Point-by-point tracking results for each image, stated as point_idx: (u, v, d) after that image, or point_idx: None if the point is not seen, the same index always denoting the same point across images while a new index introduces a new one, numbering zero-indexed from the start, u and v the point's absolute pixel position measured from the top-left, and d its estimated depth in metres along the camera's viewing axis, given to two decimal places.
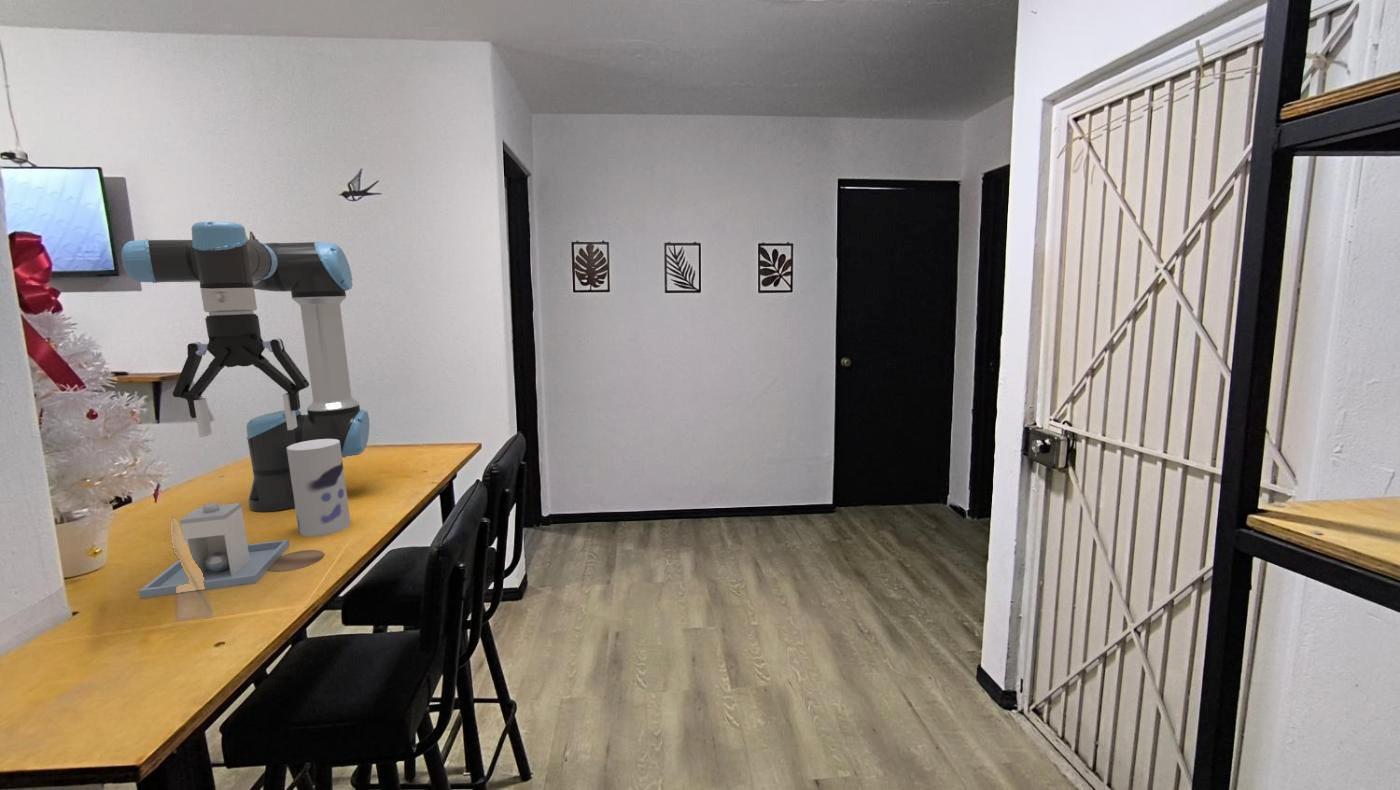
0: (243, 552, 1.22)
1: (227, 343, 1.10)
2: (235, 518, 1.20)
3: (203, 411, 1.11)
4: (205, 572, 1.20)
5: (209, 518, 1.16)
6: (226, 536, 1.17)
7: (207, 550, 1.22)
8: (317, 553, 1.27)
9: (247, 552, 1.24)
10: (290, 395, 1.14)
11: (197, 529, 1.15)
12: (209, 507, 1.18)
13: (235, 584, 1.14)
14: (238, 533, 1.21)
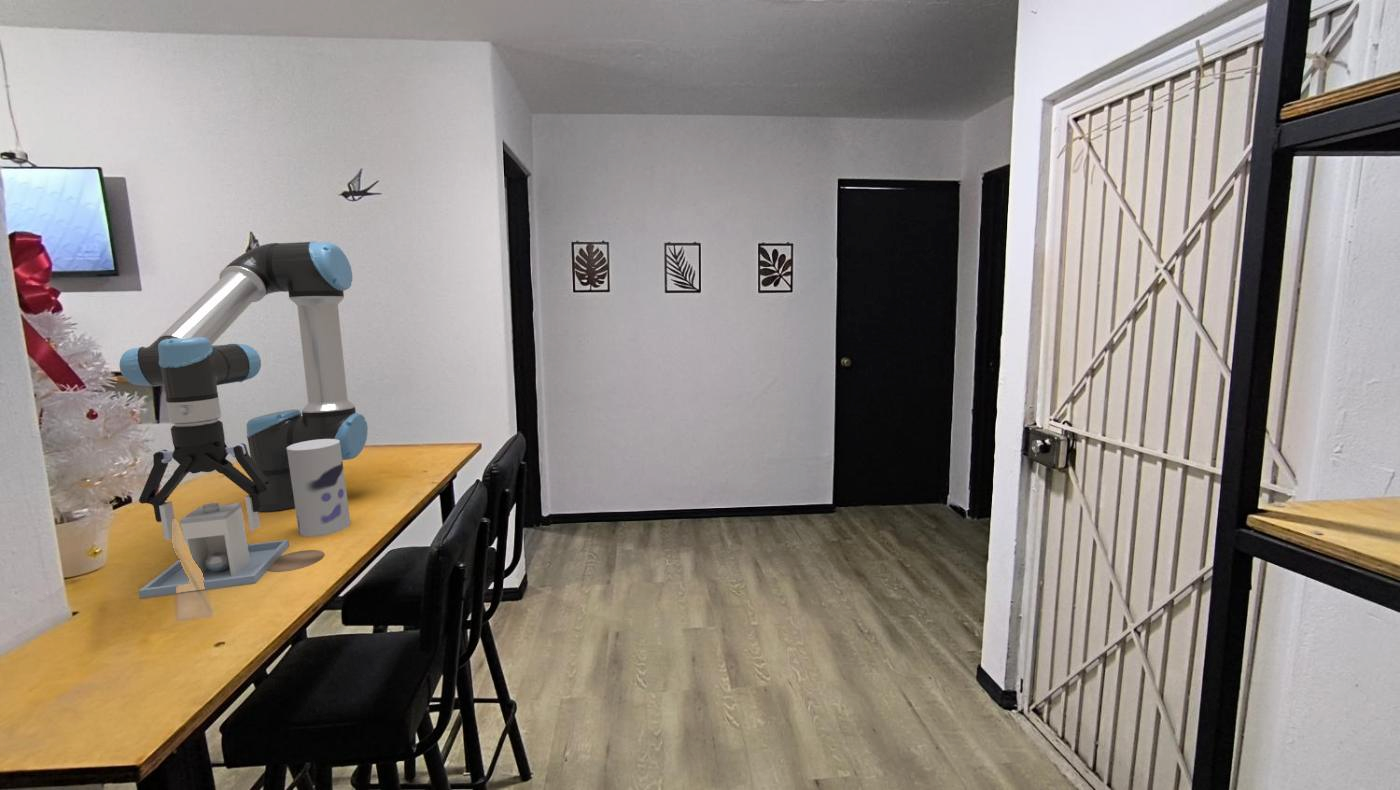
0: (243, 552, 1.22)
1: (192, 451, 1.15)
2: (235, 518, 1.20)
3: (168, 515, 1.16)
4: (205, 572, 1.20)
5: (209, 518, 1.16)
6: (226, 536, 1.17)
7: (207, 550, 1.22)
8: (317, 553, 1.27)
9: (247, 552, 1.24)
10: (252, 497, 1.19)
11: (197, 529, 1.15)
12: (209, 507, 1.18)
13: (235, 584, 1.14)
14: (238, 533, 1.21)
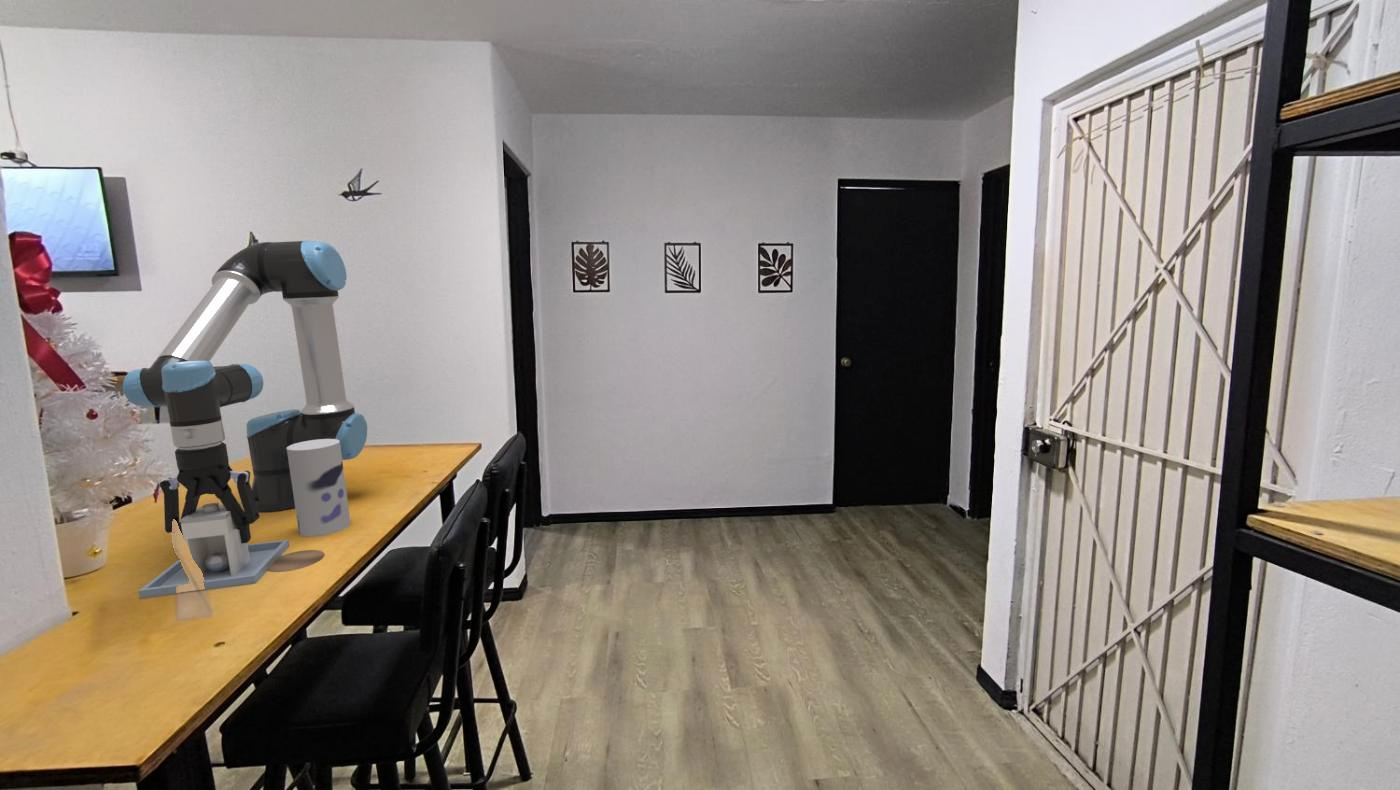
0: None
1: (193, 470, 1.16)
2: None
3: None
4: (205, 572, 1.20)
5: (209, 518, 1.16)
6: (226, 536, 1.17)
7: (207, 550, 1.22)
8: (317, 553, 1.27)
9: None
10: (240, 529, 1.20)
11: (197, 529, 1.15)
12: (209, 507, 1.18)
13: (235, 584, 1.14)
14: None
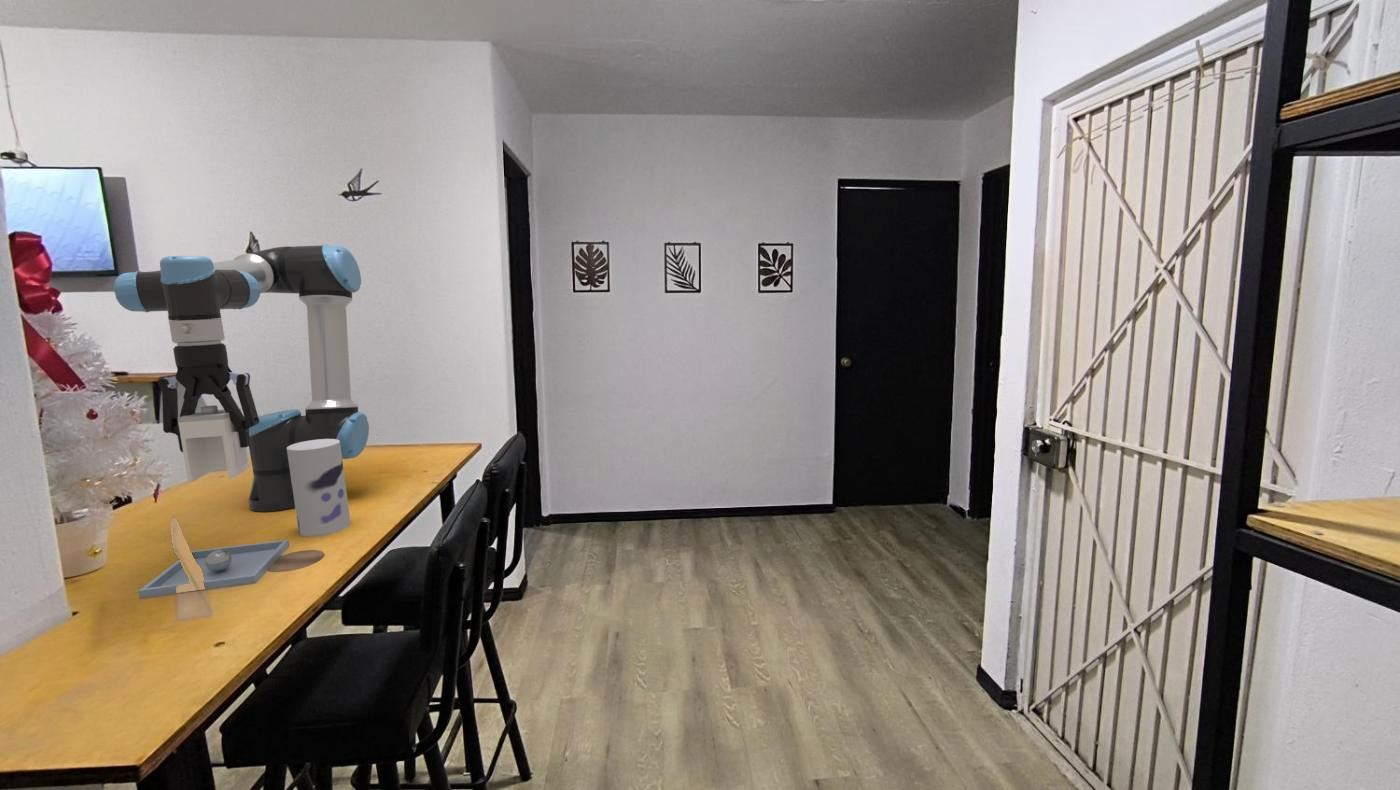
0: None
1: (192, 369, 1.13)
2: None
3: None
4: (205, 572, 1.20)
5: (207, 418, 1.13)
6: (224, 437, 1.14)
7: (206, 456, 1.19)
8: (317, 553, 1.27)
9: None
10: (240, 432, 1.17)
11: (194, 428, 1.13)
12: (207, 408, 1.15)
13: (235, 584, 1.14)
14: None
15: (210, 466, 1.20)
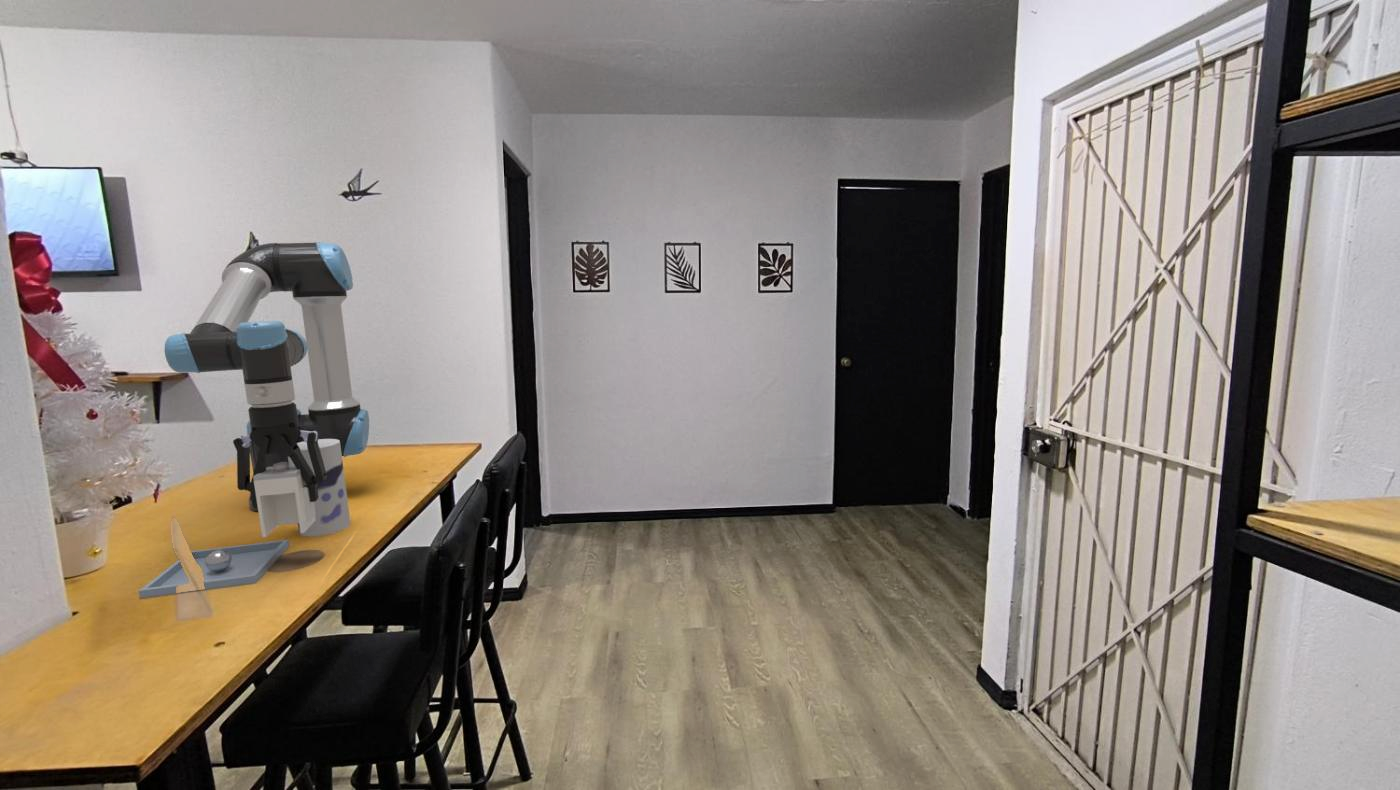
0: None
1: (265, 428, 1.18)
2: None
3: None
4: (205, 572, 1.20)
5: (281, 475, 1.18)
6: (297, 494, 1.19)
7: (275, 509, 1.24)
8: (317, 553, 1.27)
9: None
10: (309, 487, 1.22)
11: (269, 486, 1.17)
12: (280, 465, 1.19)
13: (235, 584, 1.14)
14: None
15: (279, 519, 1.24)
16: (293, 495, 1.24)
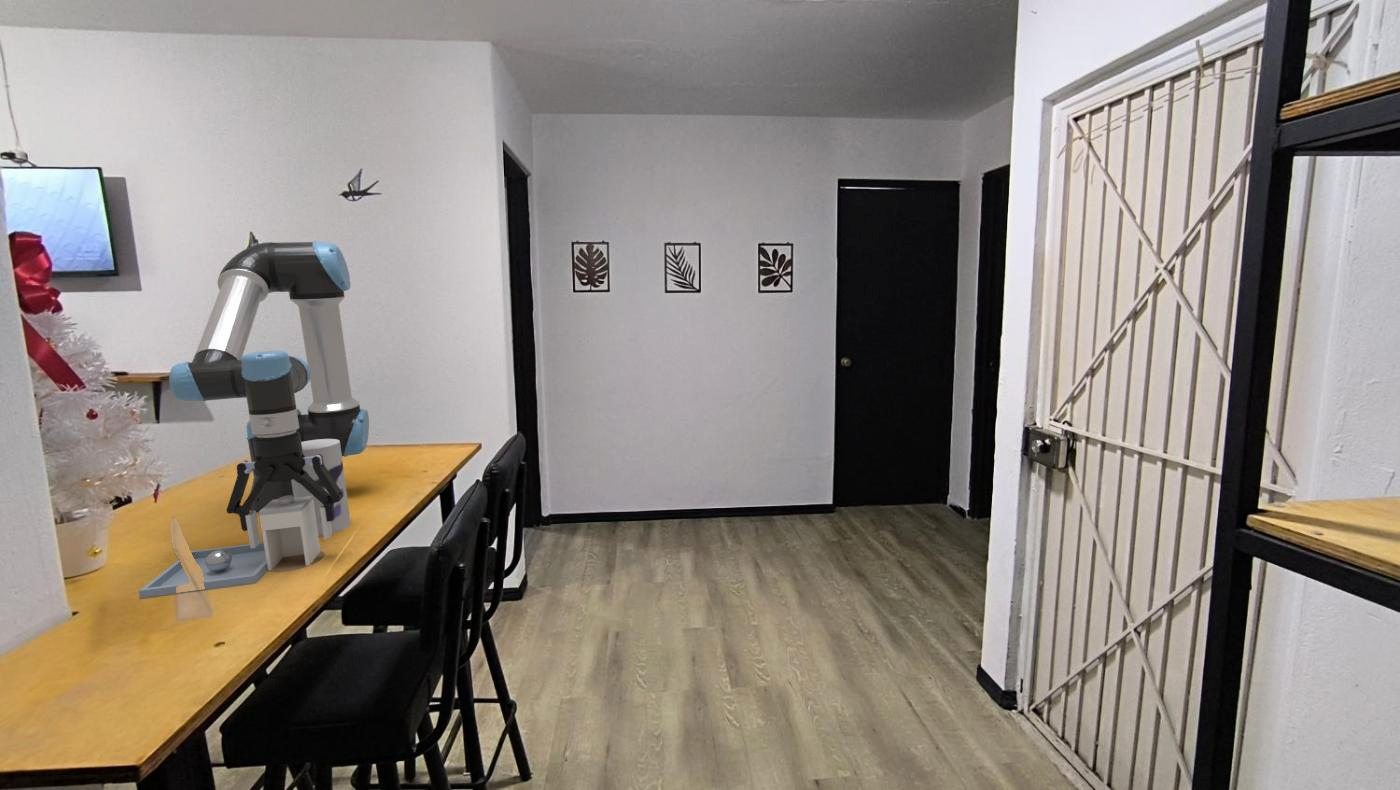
0: (315, 543, 1.26)
1: (272, 460, 1.19)
2: (309, 510, 1.23)
3: (253, 524, 1.21)
4: (205, 572, 1.20)
5: (286, 510, 1.19)
6: (302, 527, 1.20)
7: (280, 541, 1.25)
8: None
9: (318, 544, 1.27)
10: (326, 507, 1.23)
11: (274, 520, 1.19)
12: (285, 499, 1.21)
13: (235, 584, 1.14)
14: (311, 525, 1.24)
15: (284, 551, 1.26)
16: (298, 527, 1.26)
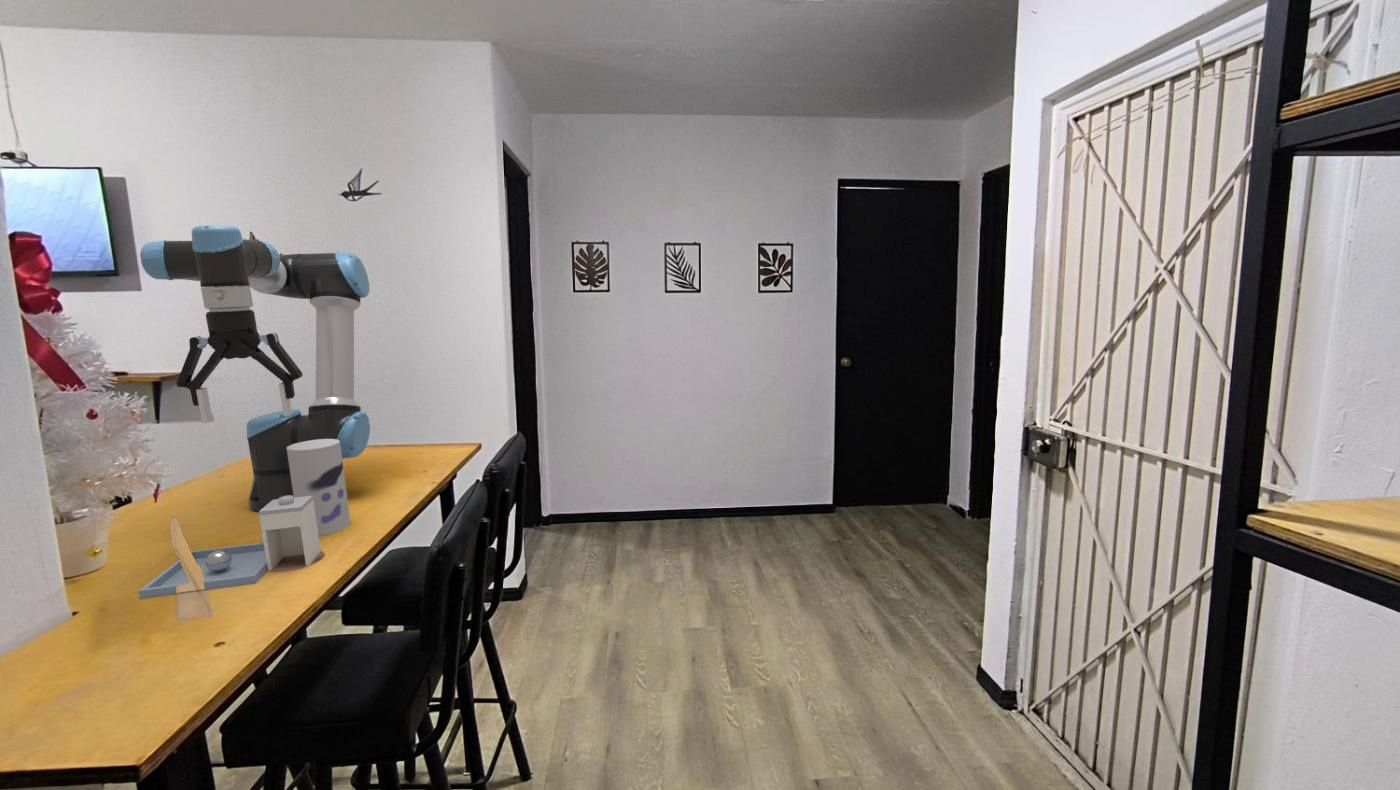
0: (315, 543, 1.26)
1: (226, 337, 1.20)
2: (309, 510, 1.23)
3: (204, 399, 1.21)
4: (205, 572, 1.20)
5: (286, 510, 1.19)
6: (302, 527, 1.20)
7: (280, 541, 1.25)
8: None
9: (318, 544, 1.27)
10: (285, 384, 1.25)
11: (274, 520, 1.19)
12: (285, 499, 1.21)
13: (235, 584, 1.14)
14: (311, 525, 1.24)
15: (284, 551, 1.26)
16: (298, 527, 1.26)
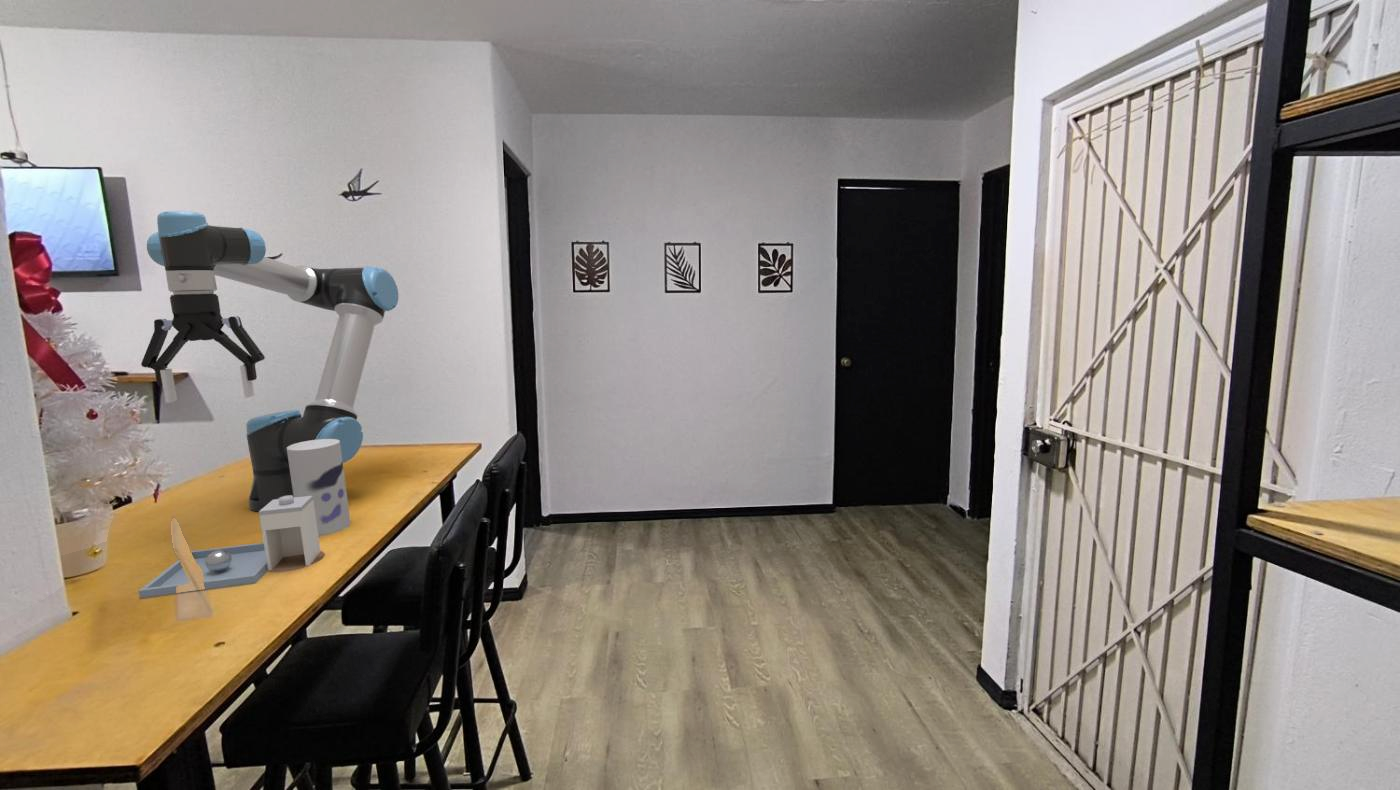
0: (315, 543, 1.26)
1: (189, 319, 1.24)
2: (309, 510, 1.23)
3: (168, 380, 1.25)
4: (205, 572, 1.20)
5: (286, 510, 1.19)
6: (302, 527, 1.20)
7: (280, 541, 1.25)
8: None
9: (318, 544, 1.27)
10: (247, 366, 1.28)
11: (274, 520, 1.19)
12: (285, 499, 1.21)
13: (235, 584, 1.14)
14: (311, 525, 1.24)
15: (284, 551, 1.26)
16: (298, 527, 1.26)
